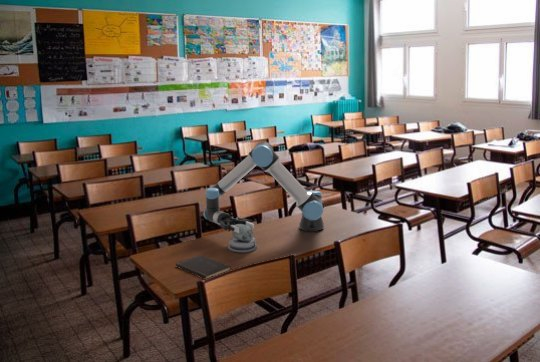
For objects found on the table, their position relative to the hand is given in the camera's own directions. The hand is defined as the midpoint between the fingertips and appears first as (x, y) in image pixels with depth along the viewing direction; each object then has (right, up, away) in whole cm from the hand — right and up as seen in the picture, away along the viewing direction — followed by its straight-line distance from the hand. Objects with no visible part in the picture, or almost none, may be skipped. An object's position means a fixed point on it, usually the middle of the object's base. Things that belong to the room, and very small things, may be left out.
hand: (246, 228), depth 278 cm
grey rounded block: (-2, -7, +4) cm, 8 cm away
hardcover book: (-20, -18, -21) cm, 35 cm away
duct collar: (-2, -11, +5) cm, 12 cm away
